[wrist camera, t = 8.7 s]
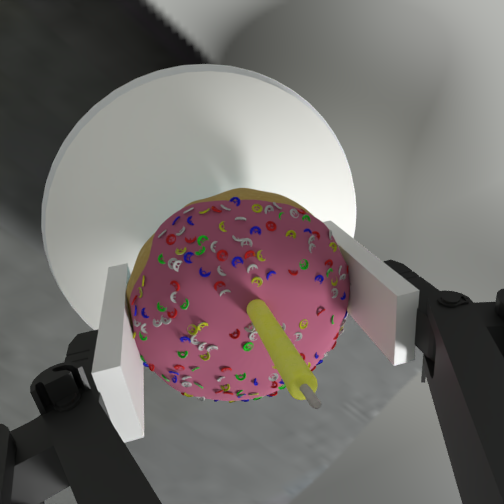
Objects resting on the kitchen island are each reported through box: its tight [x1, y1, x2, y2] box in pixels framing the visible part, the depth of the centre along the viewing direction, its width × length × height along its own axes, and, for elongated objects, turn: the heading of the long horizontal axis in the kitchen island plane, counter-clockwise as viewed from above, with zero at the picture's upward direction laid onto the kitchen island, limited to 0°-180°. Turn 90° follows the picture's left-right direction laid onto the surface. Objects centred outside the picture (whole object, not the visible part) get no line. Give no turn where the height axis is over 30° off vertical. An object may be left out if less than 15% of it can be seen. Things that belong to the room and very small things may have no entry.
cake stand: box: [41, 64, 356, 330], centre depth 24 cm, size 17×17×7 cm
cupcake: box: [126, 188, 351, 409], centre depth 14 cm, size 9×8×12 cm
